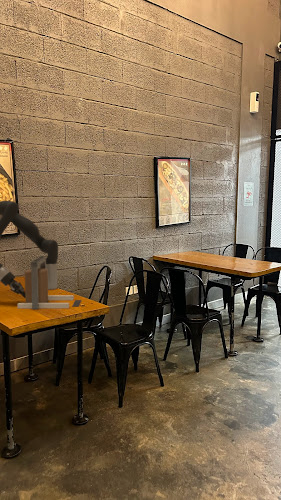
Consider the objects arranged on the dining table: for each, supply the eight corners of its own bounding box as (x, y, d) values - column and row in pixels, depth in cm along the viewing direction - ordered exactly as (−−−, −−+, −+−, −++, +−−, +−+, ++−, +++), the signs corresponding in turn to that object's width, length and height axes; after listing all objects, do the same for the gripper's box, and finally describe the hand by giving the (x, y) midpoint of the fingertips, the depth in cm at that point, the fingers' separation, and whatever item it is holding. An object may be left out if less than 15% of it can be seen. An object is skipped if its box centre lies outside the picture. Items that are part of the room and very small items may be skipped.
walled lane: (27, 299, 233) (26, 295, 233) (73, 299, 234) (73, 295, 234) (17, 308, 213) (17, 304, 213) (68, 308, 214) (68, 303, 214)
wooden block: (41, 306, 218) (40, 271, 215) (24, 305, 220) (23, 270, 217) (48, 302, 227) (48, 268, 225) (33, 301, 229) (32, 267, 227)
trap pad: (75, 300, 231) (75, 300, 231) (81, 300, 231) (81, 300, 231) (72, 306, 217) (72, 306, 217) (78, 306, 217) (78, 306, 217)
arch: (41, 298, 235) (40, 256, 232) (46, 298, 236) (45, 256, 232) (32, 309, 212) (30, 262, 209) (37, 309, 212) (36, 262, 209)
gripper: (5, 273, 214) (28, 295, 216) (12, 269, 227) (34, 289, 229) (-4, 282, 215) (19, 304, 217) (3, 278, 228) (25, 298, 230)
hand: (26, 296), depth 223 cm, fingers closed
